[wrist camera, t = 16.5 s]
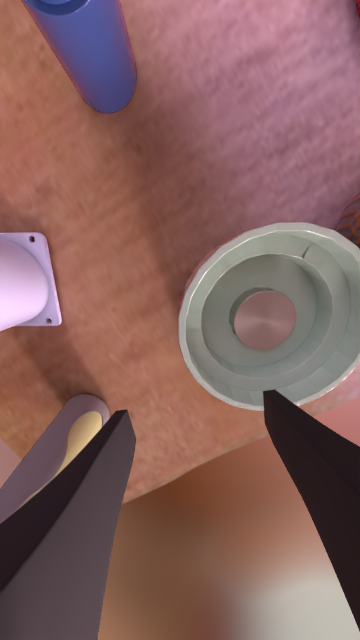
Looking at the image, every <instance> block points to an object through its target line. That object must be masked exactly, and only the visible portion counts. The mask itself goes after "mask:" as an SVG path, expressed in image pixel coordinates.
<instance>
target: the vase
mask: <svg viewBox="0 0 360 640" xmlns="http://www.w3.org/2000/svg"><path fill="white" fill-rule="evenodd" d="M336 231H337V232H338V233H339V234H341V235H342V236H344V237H345V238H346V239H348V240H349V241H351V242H352V243H354V244H355V245H356V246H357V247H359V249H360V193H359V194H358V195H357V196H356V197H355V198H354V199H353V200H352V201H351V202H350V204H349V205H348V206H347V207H346V209H345V210H344V212H343V214H342V215H341V217H340V220H339V222H338V225H337V229H336Z"/></svg>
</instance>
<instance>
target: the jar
mask: <svg viewBox="0 0 360 640" xmlns="http://www.w3.org/2000/svg"><path fill="white" fill-rule="evenodd" d="M21 2H22V3H23V5H24V6H25V8H26V10H27V11H28V13H29V14H30V16H31V18H32V19H33V21H34V22H35V24H36V26H37V27H38V29H39V30H40V32H41V34H42V35H43V37H44V38H45V40H46V42H47V43H48V45H49V46H50V48H51V50H52V51H53V53H54V54H55V56H56V58H57V59H58V61H59V62H60V64H61V65H62V67H63V69H64V70H65V72H66V73H67V75H68V77H69V78H70V80H71V81H72V83H73V85H74V86H75V88H76V89H77V91H78V93H79V94H80V96H81V97H82V99H83V100H84V101H85V102H86V103H87V104H88V105H89V106H90V107H92V108H93V109H95V110H97V111H99V112H102V113H113V112H116V111H119V110H120V109H122V108H123V107H124V106H125V105H126V104H127V103H128V102H129V101H130V99H131V97H132V95H133V93H134V90H135V86H136V80H137V70H136V63H135V59H134V54H133V50H132V46H131V42H130V38H129V34H128V29H127V25H126V21H125V17H124V13H123V9H122V4H121V0H21Z"/></svg>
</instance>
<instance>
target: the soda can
mask: <svg viewBox="0 0 360 640" xmlns="http://www.w3.org/2000/svg"><path fill="white" fill-rule="evenodd" d="M356 2H357V9H358V13H359V17H360V0H356Z"/></svg>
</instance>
